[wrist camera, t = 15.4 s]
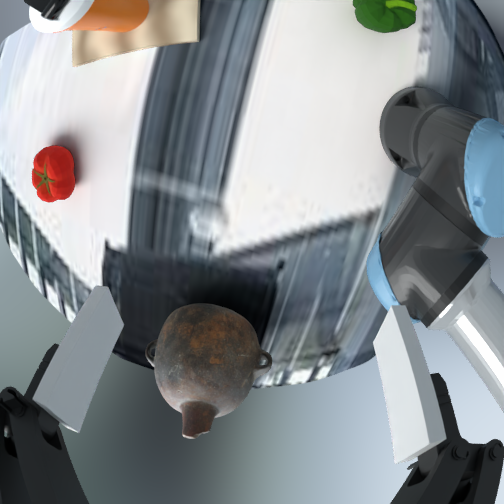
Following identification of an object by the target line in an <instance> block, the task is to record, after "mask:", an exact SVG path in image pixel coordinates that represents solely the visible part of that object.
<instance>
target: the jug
mask: <svg viewBox="0 0 504 504" xmlns="http://www.w3.org/2000/svg"><path fill="white" fill-rule="evenodd" d="M154 348H156V351H155V357H153V356H152V355H151V350H152V349H154ZM146 357H147V359H148V361H149V362H150V363H151V364H152V365H153V366H154V367H155V378H156V382H157V385H158V388H159V389H160V392H161V394H162V395H163V397H164V399H165V400H166V401H167V402H168V404H169V405H171V406H172V407H173V408H174V409H176V410H177V411H179V412H181V413H182V415H183V431H182V435H183V436H184V437H185V438H191V439H193V438H196V437H198V436H199V435H200V434H204V433H207V432H209V431H210V429H211V425H212V422H213V420H214V418H215V417H220V416H223V415H226V414H228V413H229V412H232V411H233V410H235V409H236V408H237V407H238V406H239V405H240V404H241V403H242V402H243V401H244V399H245V398H246V397H247V395H248V393H249V391H250V389H251V387H252V385H253V382H254V381H255V379H256V378H257V377H259V376H261V375H264V374H265V373H267V372H268V371H269V370H270V369H271V366H272V357H271V355H270V354H269V353H268V352H265V351H264V350H262V349H261V348H260V346H259V343H258V338H257V335H256V332H255V330H254V328H253V326H252V325H251V324H250V323H249V322H248V321H247V320H246V319H245V318H244V317H242V316H241V315H239V314H238V313H236V312H234V311H232V310H230V309H227V308H224V307H221V306H217V305H214V304H205V303H197V304H190V305H186V306H183V307H180V308H178V309H176V310H175V311H173V312H172V313H171V314H170V315H169V317H168V318H167V320H166V321H165V323H164V325H163V327H162V329H161V332H160V334H159V337H158V339H157V340H154V341H152V342H150V343H149V344H148V346H147V348H146ZM260 360H266V361H267V364H266V365H259V361H260Z"/></svg>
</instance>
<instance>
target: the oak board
mask: <svg viewBox="0 0 504 504" xmlns="http://www.w3.org/2000/svg"><path fill="white" fill-rule="evenodd" d="M148 3H149V12H148V14H147V17H146V18H145V20H144V21H143V22H142V23H141V24H140V25H139V26H138V27H137V28H135V29H133V30H131V31H128V32H111V31H91V30H73V32H72V63H73V67H77V66H81V65H84V64H87V63H90V62H94V61H97V60H100V59H104V58H108V57H112V56H116V55H120V54H124V53H128V52H133V51H138V50H143V49H148V48H154V47H160V46H166V45H173V44H181V43H190V42H200V0H148Z"/></svg>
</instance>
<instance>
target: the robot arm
mask: <svg viewBox="0 0 504 504" xmlns="http://www.w3.org/2000/svg"><path fill="white" fill-rule="evenodd" d="M380 138H381V142H382V146H383V148H384V150H385V152H386V154H387V156H388V157H389V159H390V160H391V161H392V162H393V163H394V164H395V165H396V166H397V167H398V168H400V169H401V170H402V171H404V172H405V173H407V174H409V175H411V176H414V177H417V179H416V181H415V183H414V184H413V185H412V187H411V189H410V190H409V192H408V194H407V195H406V197H405V199H404V200H403V202H402V203H401V205H400V207H399V208H398V210H397V211H396V213H395V214H394V216H393V217H392V219H391V220H390V222H389V223H388V225H387V226H386V228H385V229H384V230H383V231H382V232H381V233H380V234H379V236H378V239H377V242H376V244H375V245H374V247H373V249H372V250H371V252H370V253H369V255H368V258H367V275H368V279H369V282H370V285H371V287H372V289H373V291H374V293H375V294H376V296H377V298H378V299H379V301H380V302H381V303H382V305H383V306H384V307H385V308H386V309H387V310H388V314H387V316H386V318H385V320H384V322H383V324H382V326H381V328H380V330H379V332H378V334H377V336H376V338H375V340H374V342H373V344H374V349H375V353H376V357H377V361H378V366H379V370H380V375H381V380H382V385H383V390H384V395H385V400H386V406H387V411H388V417H389V424H390V430H391V437H392V444H393V451H394V460H395V464H397V463H402V462H405V461H410V460H412V459H414V458H416V457H418V461H417V462H415V463H413V464H411V465H410V466H409V467H408V468H407V469H408V470H409V469H412V468H413V469H412V471H411V473H410V474H409V476H408V478H407V479H406V481H405V482H404V484H403V485H402V487H401V488H400V490H399V491H398V493H397V494H396V496H395V497H394V499H393V500H392V502H391V503H390V504H495V499H496V496H497V491H498V487H499V483H500V478H501V472H502V466H503V460H504V446H503V444H502V442H501V441H500V440H498V439H493V440H491V441H490V442H488V443H487V444H471V443H468V441H466V440H465V439H463V438H462V437H461V436H460V433H459V430H458V426H457V422H456V418H455V414H454V410H453V406H452V403H451V399H450V396H449V395H448V389H447V386H446V382H445V381H444V379H443V378H442V377H441V375H440V374H439V373H435V374H430V373H429V369H428V366H427V363H426V360H425V357H424V354H423V351H422V348H421V345H420V343H419V340H418V337H417V334H416V332H415V329H414V326H413V324H415V323H418V322H420V321H421V322H422V323H423V324H424V325H425V326H426V328H427V329H428V330H442V331H445V332H447V334H448V335H449V336H450V338H451V339H452V340H453V341H454V343H455V344H456V345H457V346H458V347H459V349H460V350H461V352H462V353H463V354H464V356H465V357H466V358H467V359H468V361H469V362H470V364H471V365H472V367H473V368H474V369H475V371H476V372H477V373H478V375H479V376H480V378H481V379H482V380H483V382H484V383H485V384H486V386H487V388H488V389H489V391H490V392H491V394H492V395H493V397H494V398H495V400H496V401H497V403H498V404H499V406H500V407H501V409H502V411H503V412H504V294H503V293H502V291H501V290H500V289H499V288H498V287H497V285H496V284H495V283H494V282H493V281H492V279H491V269H490V260H489V258H488V257H487V256H486V255H485V254H484V253H483V252H482V251H481V247H482V245H483V244H484V242H485V241H486V240H487V238H488V237H489V236H492V237H497V238H498V237H503V236H504V126H503V125H502V124H501V123H499V122H497V121H496V120H494V119H491V118H486V117H483V116H481V115H478V114H475V113H472V112H469V111H466V110H463V109H460V108H456V107H455V106H454V105H452V104H451V103H450V102H449V101H448V100H447V99H446V98H445V97H444V96H442V95H441V94H439V93H438V92H436V91H433V90H431V89H427V88H421V87H410V88H406V89H403V90H401V91H399V92H398V93H396V94H395V95H394V96H393V97H392V98H391V99H390V100H389V101H388V103H387V104H386V106H385V108H384V110H383V112H382V116H381V120H380ZM123 326H124V324H123V322H122V320H121V317H120V315H119V313H118V310H117V308H116V305H115V303H114V301H113V298H112V296H111V293H110V291H109V288H108V287H104V286H95V287H94V289H93V290H92V292H91V294H90V295H89V297H88V298H87V300H86V301H85V303H84V304H83V306H82V308H81V309H80V311H79V313H78V314H77V316H76V317H75V319H74V321H73V323H72V324H71V326H70V328H69V329H68V331H67V333H66V334H65V336H64V338H63V340H62V342H61V344H60V345H58V344H54V345H53V346H52V347H51V348H50V349H49V350H48V351H47V352H46V354H45V356H44V358H43V361H42V362H41V363H40V365H39V369H37V371H36V373H35V375H34V377H33V379H32V381H31V383H30V385H29V387H28V389H27V391H26V393H25V395H24V396H23V395H22V394H21V393H20V392H19V391H17V390H16V389H15V388H13V387H6V388H5V389H3V390H2V392H1V393H0V504H89V503H88V500H87V498H86V496H85V494H84V492H83V490H82V488H81V485H80V483H79V480H78V478H77V475H76V473H75V470H74V468H73V465H72V463H71V460H70V457H69V454H68V452H67V448H66V445H65V442H64V439H63V436H62V433H61V430H60V428H59V426H58V425H59V423H61V424H62V425H64V426H65V427H66V428H69V429H71V430H73V431H75V432H78V433H79V432H80V429H81V426H82V423H83V420H84V418H85V415H86V412H87V410H88V407H89V405H90V402H91V399H92V397H93V394H94V392H95V389H96V387H97V384H98V382H99V380H100V377H101V375H102V372H103V370H104V368H105V365H106V363H107V361H108V359H109V356H110V354H111V352H112V350H113V347H114V345H115V343H116V341H117V339H118V337H119V334H120V332H121V330H122V328H123ZM4 431H5V432H7V437H5V436H4Z"/></svg>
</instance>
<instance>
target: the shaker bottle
mask: <svg viewBox="0 0 504 504" xmlns="http://www.w3.org/2000/svg"><path fill="white" fill-rule="evenodd" d="M24 2H25V3H27V4H28V5H30V9H29V16H30V20H31V22H32V24H33V26H34V28H35V29H36V30H38V31H40V32H52V33H57V32H62V31H65V30H91V31H111V32H128V31H131V30H133V29H135V28H137V27H138V26H139V25H140V24H141V23H142V22H143V21H144V20H145V18H146V17H147V14H148V12H149V3H148V0H24Z"/></svg>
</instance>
